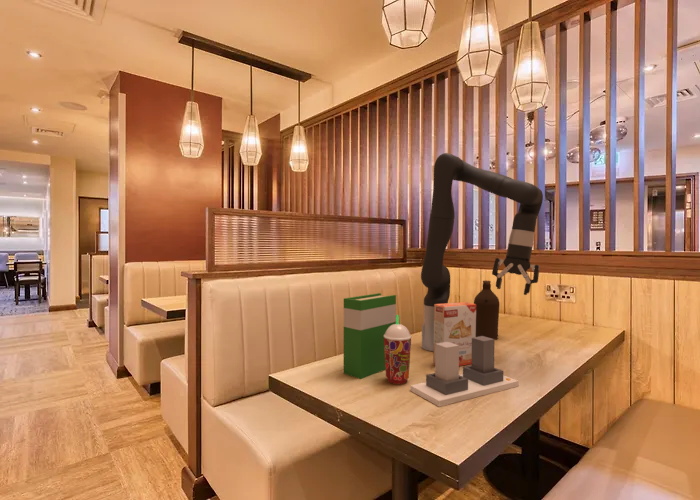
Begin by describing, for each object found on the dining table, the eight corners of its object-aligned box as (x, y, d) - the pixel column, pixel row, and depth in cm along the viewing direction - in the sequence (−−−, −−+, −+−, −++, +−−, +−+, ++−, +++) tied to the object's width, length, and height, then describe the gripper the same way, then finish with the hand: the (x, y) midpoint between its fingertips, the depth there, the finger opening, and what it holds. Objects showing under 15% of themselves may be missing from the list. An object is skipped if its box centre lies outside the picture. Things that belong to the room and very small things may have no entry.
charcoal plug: (471, 377, 114) (471, 337, 114) (482, 375, 116) (482, 335, 116) (483, 382, 110) (483, 341, 110) (494, 380, 112) (494, 339, 112)
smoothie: (404, 388, 110) (404, 318, 110) (378, 382, 114) (378, 315, 114) (415, 379, 117) (415, 314, 117) (390, 374, 122) (391, 311, 121)
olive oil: (504, 340, 164) (504, 281, 164) (480, 341, 162) (481, 282, 162) (491, 334, 175) (491, 279, 174) (469, 335, 173) (469, 279, 172)
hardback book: (378, 361, 135) (379, 293, 135) (395, 365, 130) (395, 295, 130) (343, 373, 123) (343, 298, 122) (360, 379, 117) (360, 300, 117)
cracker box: (444, 369, 126) (444, 306, 126) (432, 364, 131) (432, 303, 131) (476, 364, 132) (477, 303, 132) (464, 359, 137) (464, 301, 137)
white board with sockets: (410, 390, 108) (410, 343, 108) (486, 373, 122) (486, 331, 122) (439, 406, 98) (439, 354, 97) (518, 385, 112) (518, 339, 112)
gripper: (496, 240, 129) (487, 287, 130) (542, 247, 122) (532, 297, 122) (500, 241, 136) (492, 286, 137) (545, 248, 128) (536, 295, 129)
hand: (511, 291), depth 130 cm, fingers open, 8 cm apart
